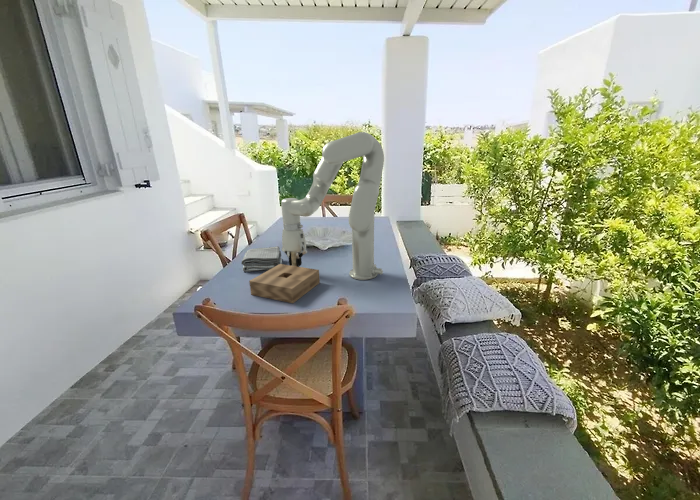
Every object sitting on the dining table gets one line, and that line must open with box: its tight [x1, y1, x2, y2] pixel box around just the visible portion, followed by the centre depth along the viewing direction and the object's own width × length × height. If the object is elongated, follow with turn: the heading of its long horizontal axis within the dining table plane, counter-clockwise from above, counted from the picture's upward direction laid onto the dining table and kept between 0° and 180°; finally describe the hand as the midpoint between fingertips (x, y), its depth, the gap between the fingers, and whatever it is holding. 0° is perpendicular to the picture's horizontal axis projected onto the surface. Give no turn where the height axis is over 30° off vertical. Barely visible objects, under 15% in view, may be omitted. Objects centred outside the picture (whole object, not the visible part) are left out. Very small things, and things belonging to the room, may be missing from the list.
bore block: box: [248, 263, 321, 304], centre depth 132 cm, size 20×20×6 cm
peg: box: [291, 252, 297, 266], centre depth 148 cm, size 3×3×11 cm
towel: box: [241, 246, 283, 272], centre depth 159 cm, size 15×18×8 cm
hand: (295, 265), depth 148 cm, fingers closed on peg, 3 cm apart
